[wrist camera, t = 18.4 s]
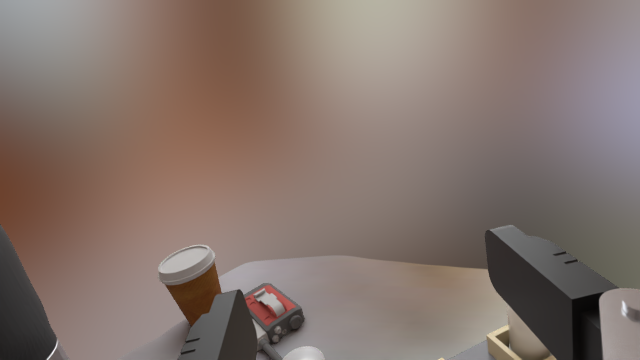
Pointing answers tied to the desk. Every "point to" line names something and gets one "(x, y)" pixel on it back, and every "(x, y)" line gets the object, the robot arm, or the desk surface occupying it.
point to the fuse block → (492, 348)
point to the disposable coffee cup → (191, 280)
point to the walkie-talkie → (272, 316)
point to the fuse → (524, 339)
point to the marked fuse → (305, 354)
